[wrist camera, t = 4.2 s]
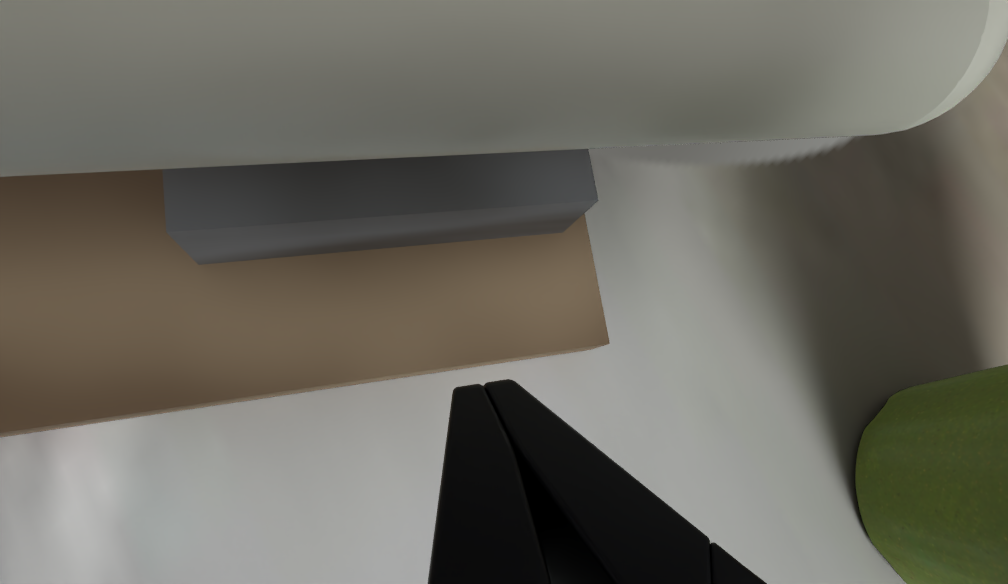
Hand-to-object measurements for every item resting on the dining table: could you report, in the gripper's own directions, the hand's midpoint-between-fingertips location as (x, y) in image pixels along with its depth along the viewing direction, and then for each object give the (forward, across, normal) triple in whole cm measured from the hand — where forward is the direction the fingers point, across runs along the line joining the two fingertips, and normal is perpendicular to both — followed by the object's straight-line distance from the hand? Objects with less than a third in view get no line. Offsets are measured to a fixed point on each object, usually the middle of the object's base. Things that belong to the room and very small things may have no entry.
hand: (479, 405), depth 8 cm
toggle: (+8, 0, -2) cm, 8 cm away
